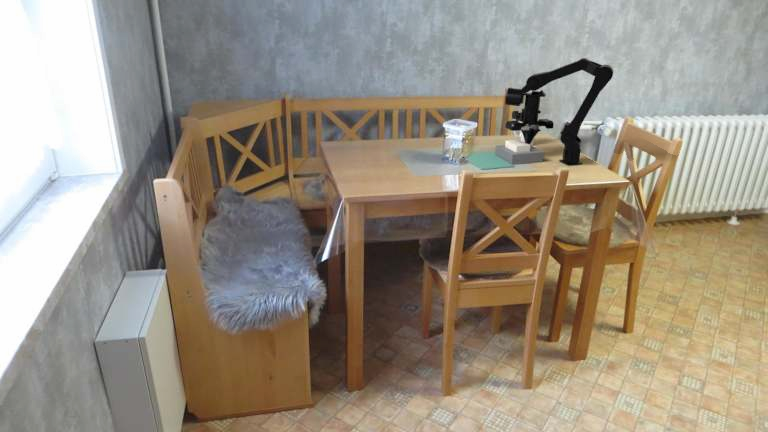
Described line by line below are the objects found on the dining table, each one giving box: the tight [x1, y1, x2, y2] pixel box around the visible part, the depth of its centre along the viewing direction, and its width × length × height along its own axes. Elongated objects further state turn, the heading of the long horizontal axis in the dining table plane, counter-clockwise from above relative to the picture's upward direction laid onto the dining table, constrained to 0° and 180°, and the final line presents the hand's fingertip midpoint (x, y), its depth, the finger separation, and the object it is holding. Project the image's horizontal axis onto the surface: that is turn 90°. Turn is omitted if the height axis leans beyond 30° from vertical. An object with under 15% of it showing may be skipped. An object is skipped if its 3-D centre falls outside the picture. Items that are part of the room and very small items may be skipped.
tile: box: [504, 139, 530, 153], centre depth 220 cm, size 9×6×3 cm, turn 17°
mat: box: [464, 152, 515, 171], centre depth 218 cm, size 20×14×1 cm
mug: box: [513, 121, 535, 147], centre depth 240 cm, size 10×7×12 cm, turn 102°
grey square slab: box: [494, 144, 545, 166], centre depth 221 cm, size 14×14×4 cm
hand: (527, 145), depth 221 cm, fingers closed
